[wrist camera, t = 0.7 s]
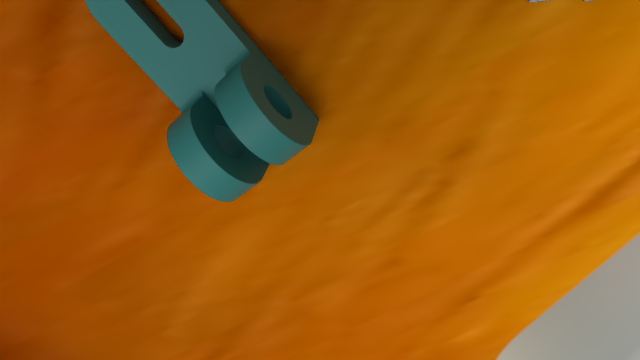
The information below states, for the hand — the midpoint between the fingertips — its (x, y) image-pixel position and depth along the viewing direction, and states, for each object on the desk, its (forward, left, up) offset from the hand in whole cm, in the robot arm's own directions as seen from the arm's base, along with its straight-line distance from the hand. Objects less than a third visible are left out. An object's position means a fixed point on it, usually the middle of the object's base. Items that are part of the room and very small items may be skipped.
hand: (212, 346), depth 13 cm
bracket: (-3, -8, -27) cm, 28 cm away
